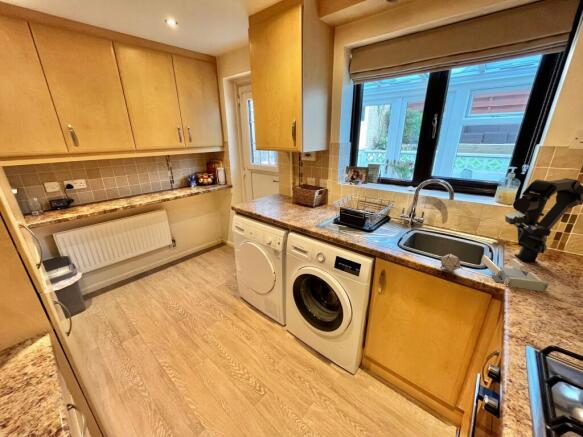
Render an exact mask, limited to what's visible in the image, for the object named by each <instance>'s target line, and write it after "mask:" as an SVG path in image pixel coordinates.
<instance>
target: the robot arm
mask: <svg viewBox="0 0 583 437" xmlns="http://www.w3.org/2000/svg"><path fill="white" fill-rule="evenodd" d="M555 194H556V196H555V204H553V206H552V207H551V208H550V209H549V211H547V213H544V212H543V211H544V209H545V206H546V204H547V203H548V200H551V197H552V196H553V195H555ZM521 195H522V196H521V197H520V198H517V199H515V200H514V201H513V203H512V207H513V209H514V210H516V211H517V212H512V213H506V214H505V215H504V216H505V218H504V219H505V221H504V222H505V223H508V224H509V225H513V226H515V227H516V229H517V241H518V242H517V246H520V250H519V252H518V254H514V256H515V258H517V259H519V260H520V261H521V262H524V263H533V264H538V263H539V262H538V261H537V258H538V255H539V254H544V253H545V251H547V249H548V247H547V241H548V239H547V237H550V235H551V233H552V231H551V229H552V228H553V227H554V226H555V224H557V223H558V221H560V219H561V218H562V217H563V216H564V215H565V214H566V213H567V211H568V210H569V209H571V208H575V207H577V206H579V205H580V204H581V203H582V202H583V185H582V184H581V180H578V179H573V178H561V179H555V180H550V181H549V180H543V179H535V180H534V181H532V182H531V183H530V184H529V185H528V186H527V187H526V189H525V190H524V191H523V192H522V193H521ZM540 217H542V219H541V220H540ZM539 220H540V221H539Z"/></svg>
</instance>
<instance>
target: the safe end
mask: <svg viewBox="0 0 583 437" xmlns="http://www.w3.org/2000/svg"><path fill="white" fill-rule="evenodd" d="M508 280H509V282H508V283H511V284H510V285H509V284H507V281H508ZM507 281H506V285H508V286H512V287H511V288H516V287H518V288H517V289H523V288H526V289H525V290H531V291H539V292H544V291H543V289H544V290H545V289H546V290H547V288H548V287H547V288H543V287H545V286H544V285H548V286H549V285H550V283H549V281H546V280H542V281H540V280H532V279H524V278H516V277H509V276H508V278H507ZM506 285H505V286H506ZM508 286H507V287H508ZM546 290H545V291H546Z"/></svg>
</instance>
